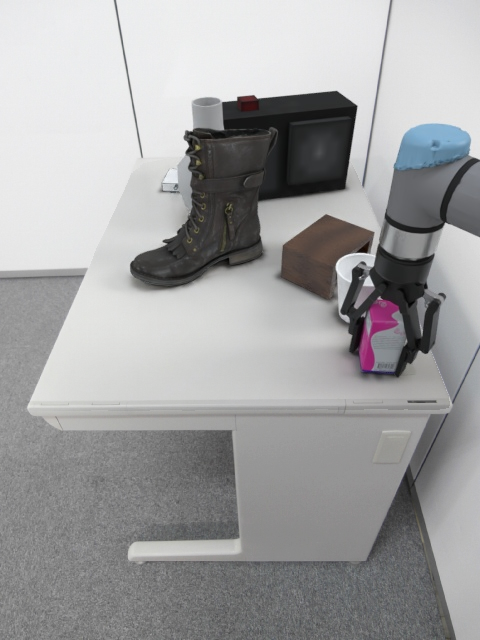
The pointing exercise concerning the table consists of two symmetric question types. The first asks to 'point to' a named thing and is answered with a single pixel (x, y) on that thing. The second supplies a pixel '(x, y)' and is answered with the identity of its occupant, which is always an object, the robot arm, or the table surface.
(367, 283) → the cup
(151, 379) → the table surface
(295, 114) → the speaker
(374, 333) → the supplement box
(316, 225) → the brown wooden box
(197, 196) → the boot
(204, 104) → the vase
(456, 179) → the robot arm
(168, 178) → the container
